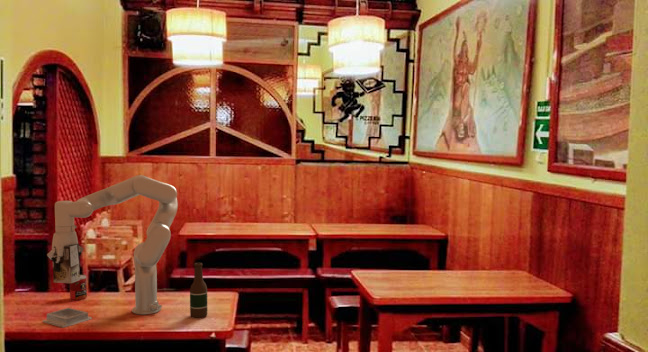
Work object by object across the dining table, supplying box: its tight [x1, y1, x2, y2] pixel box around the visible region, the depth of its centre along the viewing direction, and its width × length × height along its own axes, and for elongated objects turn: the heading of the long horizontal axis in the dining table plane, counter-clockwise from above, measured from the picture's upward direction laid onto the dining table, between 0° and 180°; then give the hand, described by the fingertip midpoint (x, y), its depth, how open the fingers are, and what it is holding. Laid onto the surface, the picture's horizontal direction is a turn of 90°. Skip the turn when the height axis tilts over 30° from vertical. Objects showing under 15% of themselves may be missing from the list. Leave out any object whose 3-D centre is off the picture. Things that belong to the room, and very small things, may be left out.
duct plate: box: [42, 307, 93, 329], centre depth 253 cm, size 14×14×3 cm
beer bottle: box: [189, 262, 208, 319], centre depth 259 cm, size 8×8×24 cm
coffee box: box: [52, 243, 81, 284], centre depth 251 cm, size 9×6×16 cm
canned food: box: [69, 274, 88, 302], centre depth 287 cm, size 8×8×11 cm
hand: (66, 269), depth 252 cm, fingers closed on coffee box, 8 cm apart
